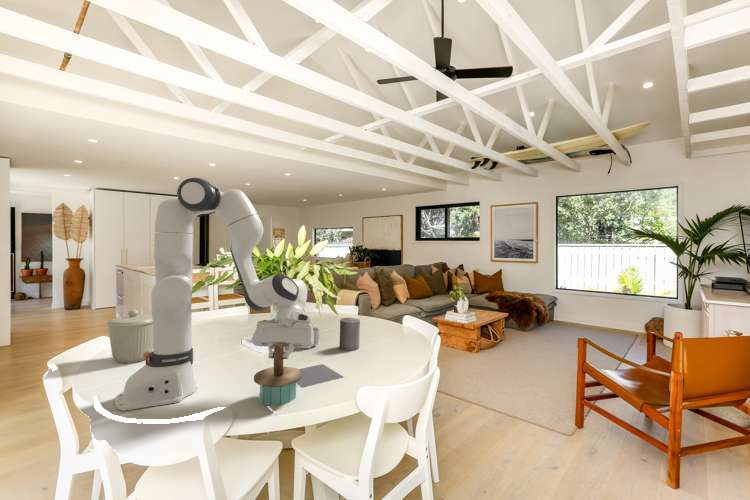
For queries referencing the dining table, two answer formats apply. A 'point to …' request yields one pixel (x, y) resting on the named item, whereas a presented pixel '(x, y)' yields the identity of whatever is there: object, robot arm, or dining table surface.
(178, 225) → the robot arm
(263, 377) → the lid
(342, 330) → the pillar candle
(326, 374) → the mat
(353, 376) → the dining table surface
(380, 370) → the dining table surface
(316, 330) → the teacup
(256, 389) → the dining table surface
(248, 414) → the dining table surface
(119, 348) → the canister
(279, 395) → the bowl
